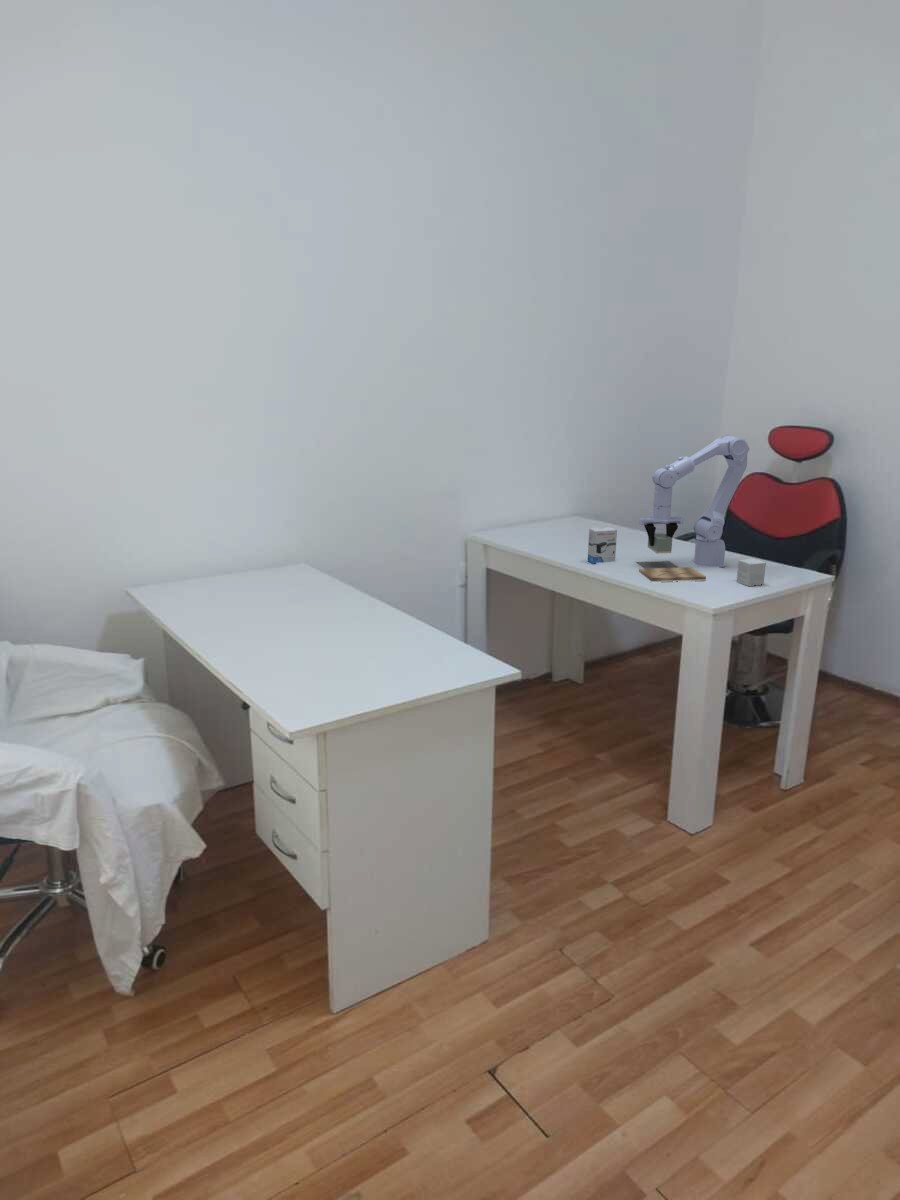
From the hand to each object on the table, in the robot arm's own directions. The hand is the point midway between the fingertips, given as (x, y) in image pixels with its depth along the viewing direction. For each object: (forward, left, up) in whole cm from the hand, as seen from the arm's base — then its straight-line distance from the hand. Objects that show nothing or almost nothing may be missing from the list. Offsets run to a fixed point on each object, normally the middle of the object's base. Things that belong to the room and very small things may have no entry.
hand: (659, 545), depth 296 cm
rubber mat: (0, 0, -8) cm, 8 cm away
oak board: (0, +13, -8) cm, 15 cm away
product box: (-22, +23, -8) cm, 33 cm away
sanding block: (0, 0, -2) cm, 2 cm away
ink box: (+17, -9, -8) cm, 21 cm away
